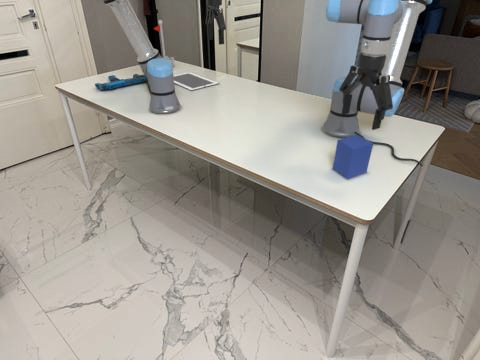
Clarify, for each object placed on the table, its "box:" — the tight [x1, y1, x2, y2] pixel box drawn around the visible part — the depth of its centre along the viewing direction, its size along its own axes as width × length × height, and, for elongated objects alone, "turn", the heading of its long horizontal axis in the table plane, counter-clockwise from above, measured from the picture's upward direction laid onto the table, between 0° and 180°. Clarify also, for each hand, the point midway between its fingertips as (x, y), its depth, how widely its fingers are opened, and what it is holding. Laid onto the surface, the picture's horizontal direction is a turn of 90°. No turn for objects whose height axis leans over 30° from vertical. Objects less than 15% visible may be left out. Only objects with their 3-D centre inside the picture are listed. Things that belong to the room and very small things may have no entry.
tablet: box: [173, 71, 220, 91], centre depth 211 cm, size 32×20×1 cm, turn 41°
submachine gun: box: [94, 73, 149, 91], centre depth 208 cm, size 34×4×25 cm
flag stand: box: [153, 19, 176, 67], centre depth 232 cm, size 13×13×30 cm
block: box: [332, 135, 374, 180], centre depth 118 cm, size 9×8×12 cm
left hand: (216, 41), depth 179 cm, fingers open, 13 cm apart
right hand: (359, 120), depth 111 cm, fingers open, 13 cm apart
